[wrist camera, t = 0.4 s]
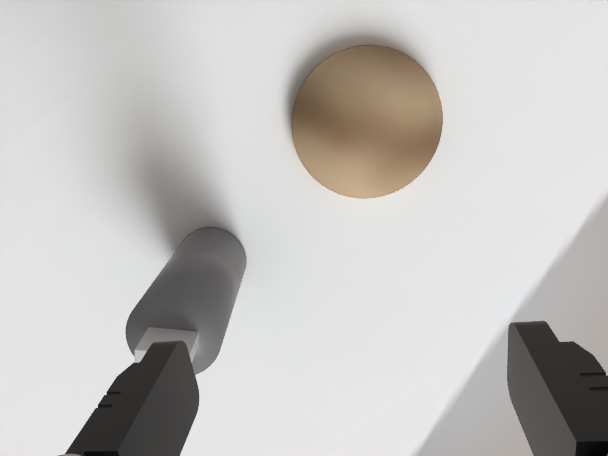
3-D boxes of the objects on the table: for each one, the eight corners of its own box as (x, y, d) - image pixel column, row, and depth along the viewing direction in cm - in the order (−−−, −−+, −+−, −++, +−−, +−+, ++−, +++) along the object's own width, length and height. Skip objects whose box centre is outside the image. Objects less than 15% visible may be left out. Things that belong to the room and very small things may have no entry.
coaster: (299, 38, 28) (299, 36, 28) (451, 54, 29) (456, 53, 28) (285, 187, 31) (285, 190, 30) (424, 201, 31) (427, 205, 31)
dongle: (179, 223, 32) (108, 308, 21) (248, 230, 32) (216, 318, 21) (177, 287, 33) (110, 399, 22) (244, 293, 34) (211, 408, 22)
